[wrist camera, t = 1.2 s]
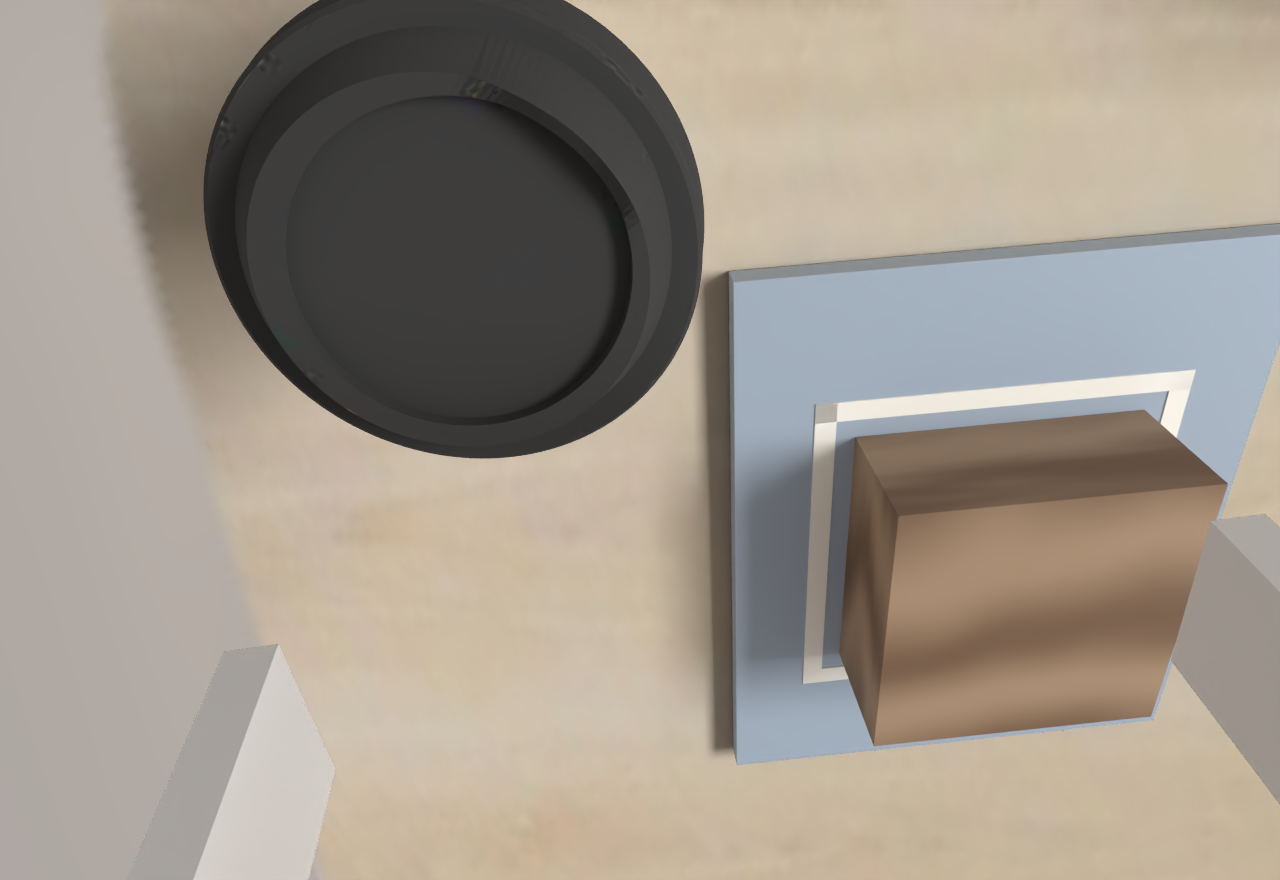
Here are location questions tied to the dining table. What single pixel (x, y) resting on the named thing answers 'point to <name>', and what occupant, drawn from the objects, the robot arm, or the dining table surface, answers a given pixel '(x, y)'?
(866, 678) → the walnut base block
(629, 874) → the dining table surface
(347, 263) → the coffee cup
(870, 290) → the board
